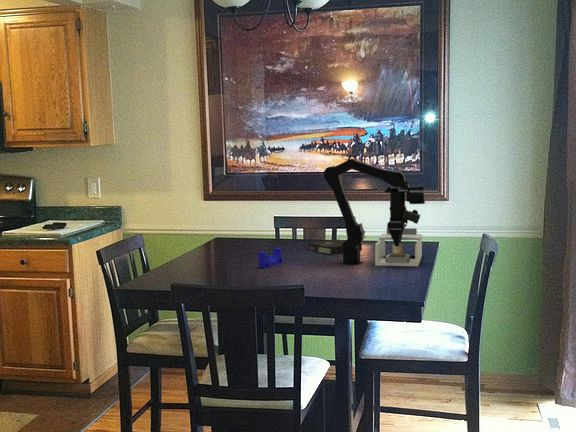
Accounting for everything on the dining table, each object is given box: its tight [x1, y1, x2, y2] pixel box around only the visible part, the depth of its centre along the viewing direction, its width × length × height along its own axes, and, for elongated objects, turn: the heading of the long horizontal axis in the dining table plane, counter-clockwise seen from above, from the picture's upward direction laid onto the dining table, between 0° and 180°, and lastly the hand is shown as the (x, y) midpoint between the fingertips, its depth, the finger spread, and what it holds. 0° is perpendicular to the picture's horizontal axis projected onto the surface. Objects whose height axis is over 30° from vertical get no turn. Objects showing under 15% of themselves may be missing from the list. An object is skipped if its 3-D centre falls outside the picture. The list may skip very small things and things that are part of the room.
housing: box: [374, 236, 423, 267], centre depth 279 cm, size 24×16×8 cm, turn 166°
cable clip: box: [257, 247, 283, 269], centre depth 277 cm, size 12×4×6 cm, turn 147°
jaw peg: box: [391, 243, 404, 257], centre depth 272 cm, size 4×4×6 cm
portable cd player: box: [307, 239, 363, 256], centre depth 306 cm, size 16×17×4 cm
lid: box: [378, 227, 423, 241], centre depth 284 cm, size 11×16×3 cm
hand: (398, 244), depth 272 cm, fingers open, 9 cm apart
